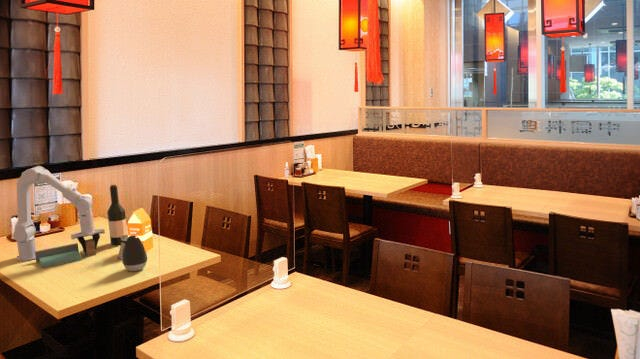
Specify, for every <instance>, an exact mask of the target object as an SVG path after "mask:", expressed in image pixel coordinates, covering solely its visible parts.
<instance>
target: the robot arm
mask: <svg viewBox="0 0 640 359" xmlns="http://www.w3.org/2000/svg"><path fill="white" fill-rule="evenodd" d="M36 182H37V183H41V184H43V183H44V184H48V185H49V186H51V187H53V188H54V189H56V190H57V191H59V192H60V193H61V194H62V197H63V198H65V199H66V200H67V201H69V203H71V204H72V205H73V206H75V208H76V211H78V218H79V225H80V232H76V233H72V234H70V238H71V240H76V239H77V241H78V242H79V244H80V245H81V248H82V250H83V252H84V253H85V252H86V247H85V240H86V239H85V238H86V237H90V236H91V238H92V239H93V240H94V241H95V249H96V251H97V249H98V243H99V241H100V237H101V234H106V232H105V231H106V230H105V228H98V229H95V224H94V216H93V208H92V206H93V205H94V201H93V199H92V198H91V197H90V196H88V195H87V196H86V194H85V195H84V194H82V193H80V192H79V191H78V190H77V188H76V187H72V186H69V187H68V186H67V185H65V183H63V182H62V181H61V180H60V179H58V178H57V177H55V175H53V174H52V172H50V171H49V170H48V169H46V168H45V167H43V166H41V165H37V166H33V167H32V168H28V169H26V170H25V171H23V172H21V176H19V179H18V180H17V181H16V200H17V201H16V203H17V204H16V205H17V221H16V224H15V226H14V231H13V233H12V237H13V239H14V240H15V241H16V244H17V245H16V246H17V250H18V255H17V256H16V258H17V259H18V261H19V262H20V263H21V262H28V261H31V260H32V261H33V260H36V257H35V251H37V246H36V239H35V235H36V232H37V229H36V226H35V224H34V223H35V222H34V221H33V219H32V201H31V200H32V199H31V187H32V186H33V185H34V184H36Z"/></svg>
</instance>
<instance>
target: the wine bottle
mask: <svg viewBox="0 0 640 359" xmlns="http://www.w3.org/2000/svg"><path fill="white" fill-rule="evenodd" d="M109 190H110V191H109V192H110V200H111V203H110V205H109V208H108V210H107V211H106V212H107V214H106V215H107V220H108V221H107V222H108V230H109V237H110V238H109V239H110V244H111V245H112V246H114V247H115V246H121V238H120V237H121V236H123V235H127V236H128V229H127V218H126V210H125V209H124V208H123V206H122V205H121V204H120V202H119V201H120V200H119V192H118V186H117V185H116V184H110V186H109ZM127 238H128V237H127Z"/></svg>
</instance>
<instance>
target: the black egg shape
mask: <svg viewBox="0 0 640 359" xmlns="http://www.w3.org/2000/svg"><path fill="white" fill-rule="evenodd" d="M121 243H125V244H124V248H123V254H122V259H121V260H122V261H121V262H122V265H123V266H124V268H125V269H126V270H127V271H129V272H139V271H141V270H143V269H144V268H145V267H146V265H147V261H148V255H147V254H148V253H147V252H146V250H145V248H144V245H143V243H142V242H141V240H140V239H139V237H137V236H135V235H131V236H129V237H128V238H127V240H121Z"/></svg>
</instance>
